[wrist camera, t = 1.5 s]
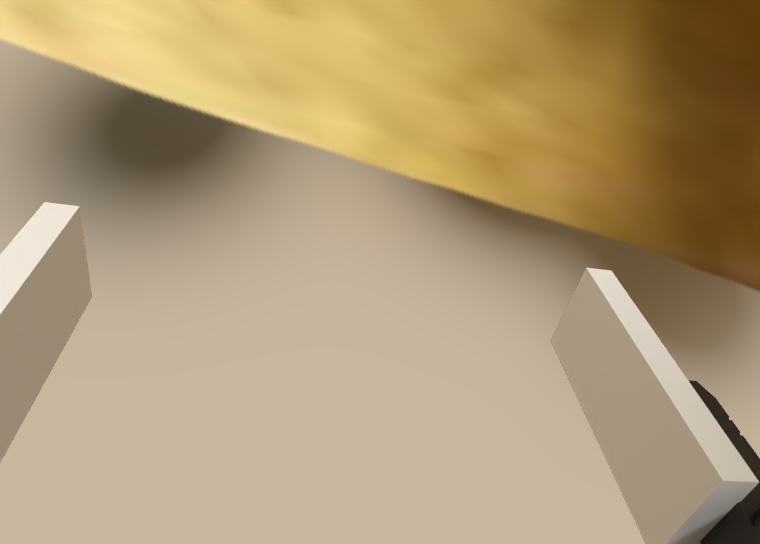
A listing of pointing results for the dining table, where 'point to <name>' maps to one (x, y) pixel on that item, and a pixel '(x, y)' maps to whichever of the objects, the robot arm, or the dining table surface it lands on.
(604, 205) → the dining table surface
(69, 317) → the robot arm
